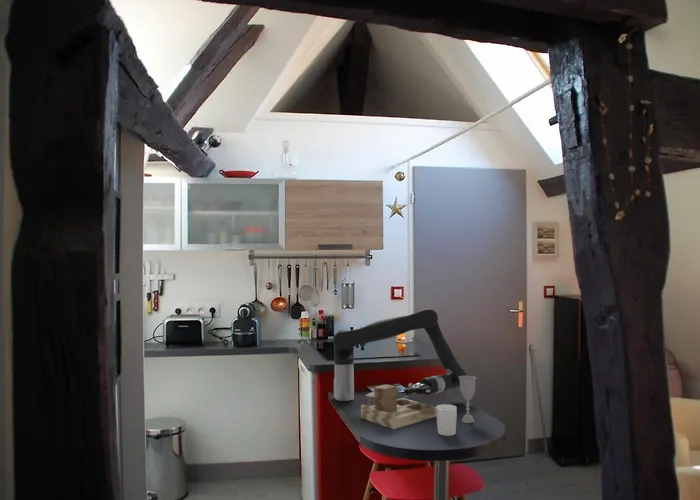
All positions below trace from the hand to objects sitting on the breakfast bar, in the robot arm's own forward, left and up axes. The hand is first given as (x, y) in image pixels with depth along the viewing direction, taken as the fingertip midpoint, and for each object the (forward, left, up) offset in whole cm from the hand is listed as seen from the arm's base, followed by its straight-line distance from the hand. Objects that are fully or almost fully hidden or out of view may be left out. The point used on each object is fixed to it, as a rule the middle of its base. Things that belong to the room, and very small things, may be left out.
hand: (405, 391), depth 228 cm
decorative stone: (-17, -2, -10) cm, 20 cm away
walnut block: (0, -12, -6) cm, 13 cm away
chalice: (+23, +13, -10) cm, 28 cm away
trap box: (0, -4, -10) cm, 11 cm away
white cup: (+27, -5, -10) cm, 29 cm away
